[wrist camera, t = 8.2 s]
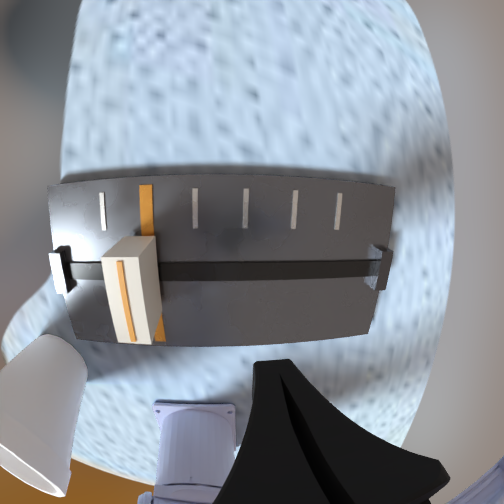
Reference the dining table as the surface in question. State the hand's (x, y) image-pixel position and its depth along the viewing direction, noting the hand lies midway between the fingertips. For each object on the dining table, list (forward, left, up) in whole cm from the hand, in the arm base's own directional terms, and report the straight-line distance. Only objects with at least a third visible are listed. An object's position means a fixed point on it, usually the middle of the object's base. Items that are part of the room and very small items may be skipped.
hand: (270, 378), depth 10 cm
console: (+1, +2, -10) cm, 10 cm away
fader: (+1, +7, -8) cm, 11 cm away
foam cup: (-9, +18, -10) cm, 22 cm away
